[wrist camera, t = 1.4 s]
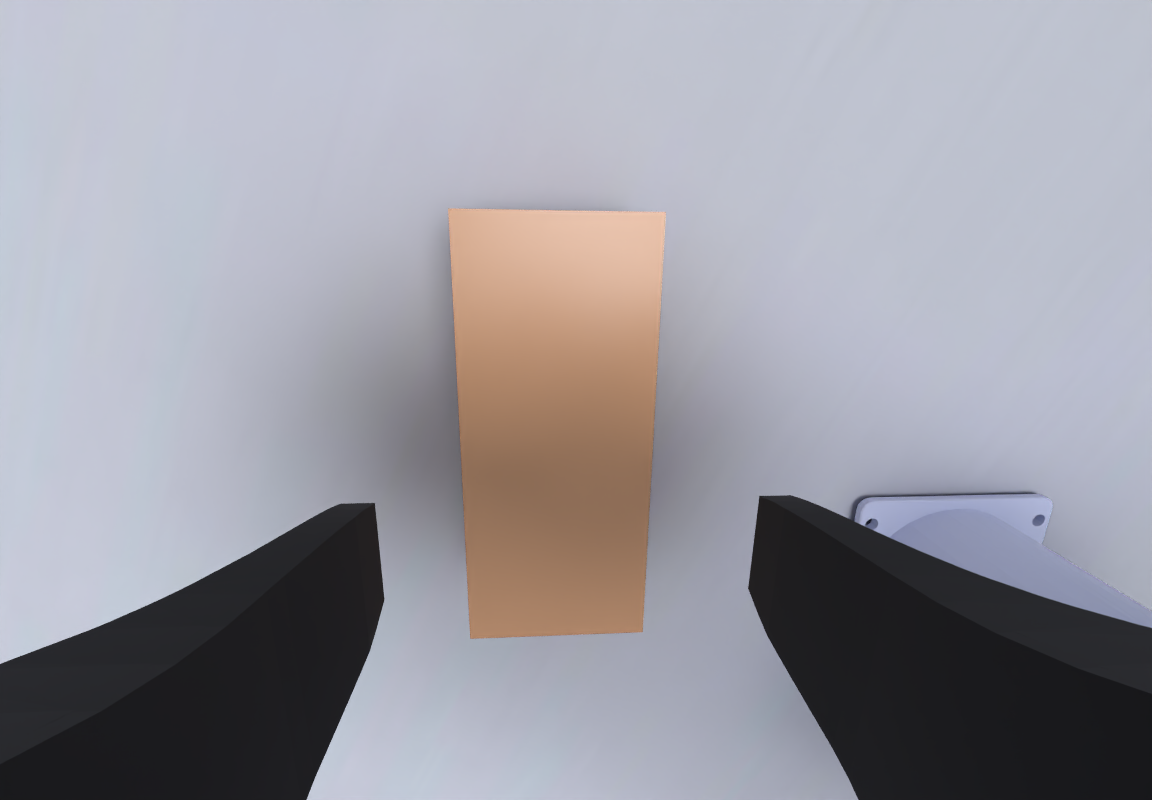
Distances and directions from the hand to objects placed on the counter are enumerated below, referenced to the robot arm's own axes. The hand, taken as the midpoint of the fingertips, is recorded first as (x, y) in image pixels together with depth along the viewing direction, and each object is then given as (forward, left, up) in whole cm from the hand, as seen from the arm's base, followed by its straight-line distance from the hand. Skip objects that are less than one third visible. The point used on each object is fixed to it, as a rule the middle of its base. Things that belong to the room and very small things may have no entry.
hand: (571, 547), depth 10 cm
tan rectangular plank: (0, 0, -9) cm, 9 cm away
